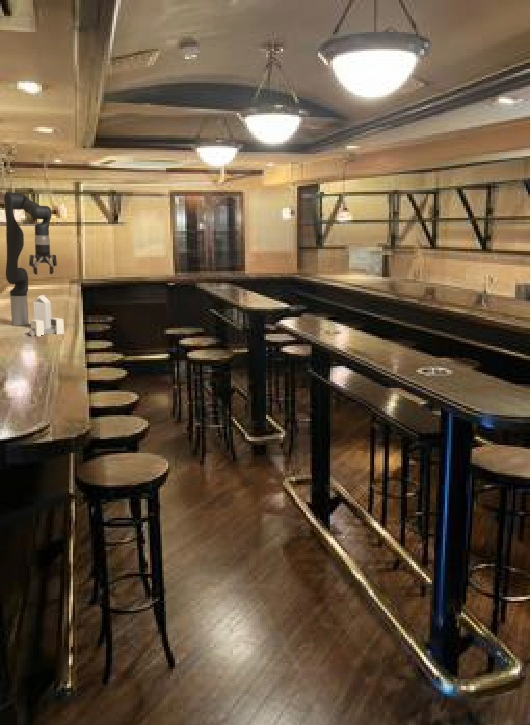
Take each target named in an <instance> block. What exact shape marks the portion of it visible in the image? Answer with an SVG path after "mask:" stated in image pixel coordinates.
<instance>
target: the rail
mask: <svg viewBox="0 0 531 725" xmlns="http://www.w3.org/2000/svg"><path fill="white" fill-rule="evenodd" d="M51 333H56V331H55V328H47V329H44V334H50V335H52V334H51ZM30 335H31V336H30ZM29 336H30V337H36V336H35V330H31V329H30V330H29Z"/></svg>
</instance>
